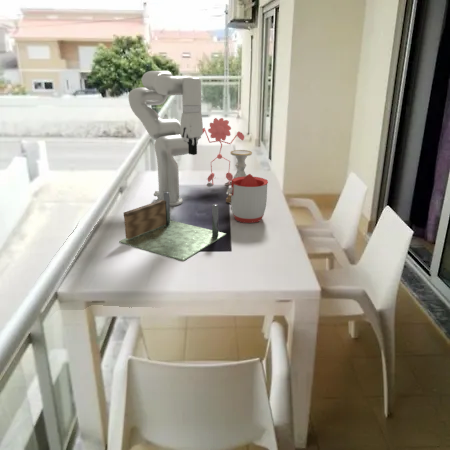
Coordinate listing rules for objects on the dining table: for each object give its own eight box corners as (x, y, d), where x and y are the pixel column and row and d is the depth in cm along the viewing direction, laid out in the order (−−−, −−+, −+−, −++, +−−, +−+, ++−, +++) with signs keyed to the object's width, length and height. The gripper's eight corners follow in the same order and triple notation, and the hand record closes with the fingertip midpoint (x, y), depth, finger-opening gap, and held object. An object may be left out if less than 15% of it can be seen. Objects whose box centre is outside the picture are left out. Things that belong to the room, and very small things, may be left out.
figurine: (244, 184, 239) (245, 119, 228) (197, 185, 236) (196, 119, 224) (239, 177, 254) (240, 115, 242) (195, 179, 250) (194, 116, 238)
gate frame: (119, 242, 164) (116, 206, 159) (166, 220, 186) (164, 188, 181) (183, 261, 149) (182, 222, 144) (226, 234, 172) (226, 200, 167)
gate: (163, 223, 180) (162, 199, 176) (166, 224, 179) (165, 200, 175) (125, 238, 165) (123, 212, 162) (129, 239, 164) (127, 213, 160)
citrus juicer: (224, 213, 195) (225, 169, 188) (263, 212, 197) (264, 169, 189) (228, 226, 181) (228, 179, 173) (269, 225, 182) (271, 178, 175)
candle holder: (225, 202, 210) (225, 153, 201) (233, 196, 219) (234, 148, 211) (247, 205, 206) (248, 155, 197) (254, 198, 215) (256, 150, 207)
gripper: (195, 107, 184) (195, 150, 191) (173, 110, 172) (174, 156, 179) (209, 108, 181) (210, 152, 187) (188, 111, 169) (189, 158, 175)
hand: (192, 154), depth 183 cm, fingers closed
